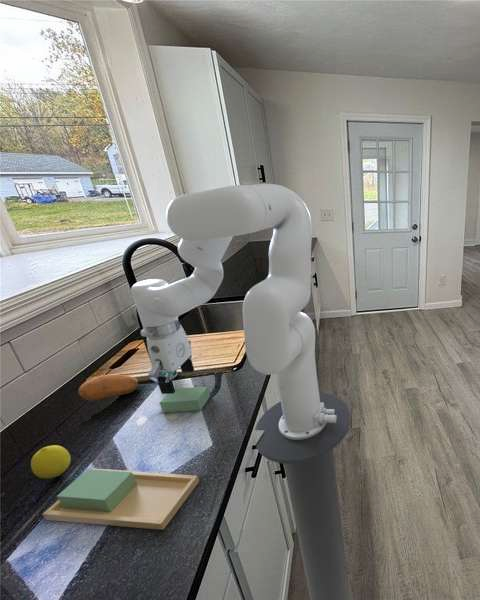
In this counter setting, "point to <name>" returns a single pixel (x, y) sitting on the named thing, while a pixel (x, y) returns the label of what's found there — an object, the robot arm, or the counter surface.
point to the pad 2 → (185, 399)
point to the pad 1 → (97, 490)
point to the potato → (107, 387)
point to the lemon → (50, 461)
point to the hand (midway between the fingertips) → (178, 381)
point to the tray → (136, 503)
